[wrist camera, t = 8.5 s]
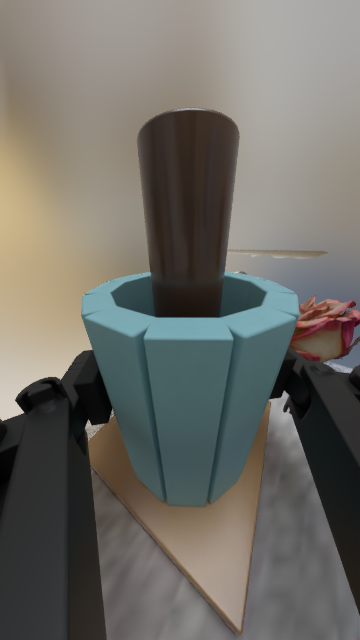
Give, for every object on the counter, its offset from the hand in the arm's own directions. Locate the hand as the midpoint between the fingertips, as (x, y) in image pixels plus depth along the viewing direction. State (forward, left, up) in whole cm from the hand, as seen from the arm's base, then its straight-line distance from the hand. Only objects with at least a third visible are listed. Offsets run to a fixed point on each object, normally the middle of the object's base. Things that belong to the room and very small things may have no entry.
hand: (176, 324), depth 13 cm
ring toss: (+3, -4, -7) cm, 8 cm away
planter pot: (+3, -4, -6) cm, 7 cm away
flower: (+9, +9, -7) cm, 15 cm away
